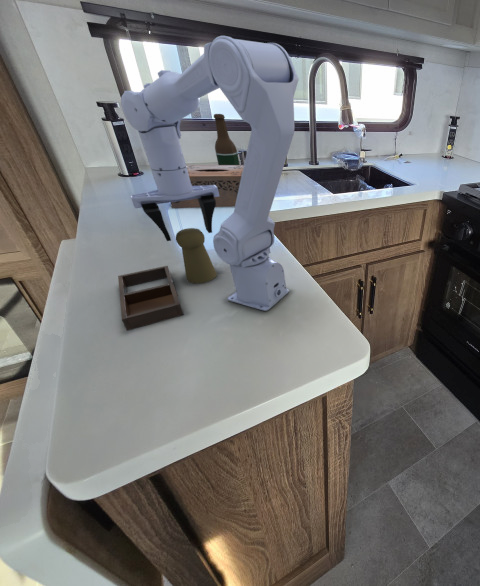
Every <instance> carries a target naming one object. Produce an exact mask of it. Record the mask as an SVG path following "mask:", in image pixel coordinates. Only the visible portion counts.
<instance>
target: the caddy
mask: <svg viewBox="0 0 480 586" xmlns="http://www.w3.org/2000/svg"><path fill="white" fill-rule="evenodd" d="M117 278H118V279H117V280H118V292H119V303H120V316H121V321H122V323H123V325H124V327H125V329H126V331H131V330H134V329H137V328H141V327H145V326H148V325H151V324H155V323H158V322H163V321H166V320H169V319H173V318H176V317H181V316H183V315H184V312H183V308H182V305H181V302H180V299H179V295H178V293H177V289H176V286H175V283H174V279H173V276H172V274H171V271H170V269H169V266H168V265H164V266H159V267H154V268H149V269H145V270H140V271H135V272H130V273H126V274H121V275H118V276H117ZM162 279H167V282H168V283H165V284H160V285H156V286H152V287H148V288H144V289H143V288H142V289H139V290H134V291H131V292H128V287H132V286H136V285H140V284H144V283H149V282H154V281H158V280H162Z"/></svg>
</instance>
